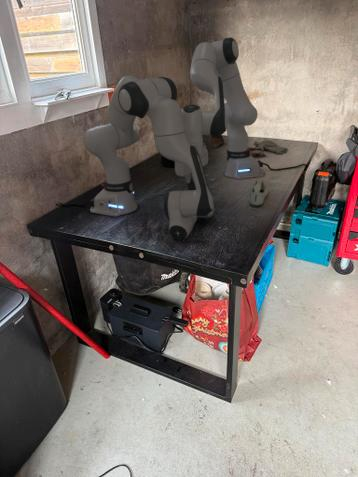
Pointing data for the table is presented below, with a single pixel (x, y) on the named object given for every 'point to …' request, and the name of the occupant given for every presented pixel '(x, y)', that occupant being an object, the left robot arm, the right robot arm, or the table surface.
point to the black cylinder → (191, 186)
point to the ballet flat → (258, 193)
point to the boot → (217, 140)
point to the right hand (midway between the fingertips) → (193, 180)
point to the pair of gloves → (268, 146)
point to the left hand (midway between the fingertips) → (194, 201)
